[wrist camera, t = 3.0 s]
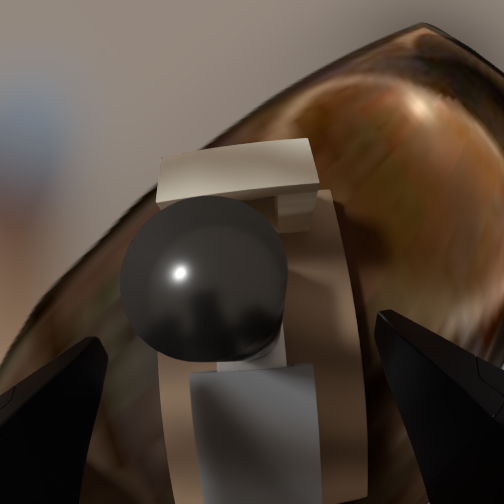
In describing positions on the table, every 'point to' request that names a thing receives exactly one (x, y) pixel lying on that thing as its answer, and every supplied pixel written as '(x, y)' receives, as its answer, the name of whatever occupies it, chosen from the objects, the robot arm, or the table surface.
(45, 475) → the robot arm
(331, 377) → the base
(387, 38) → the table surface
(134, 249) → the dark knobbed lever handle
